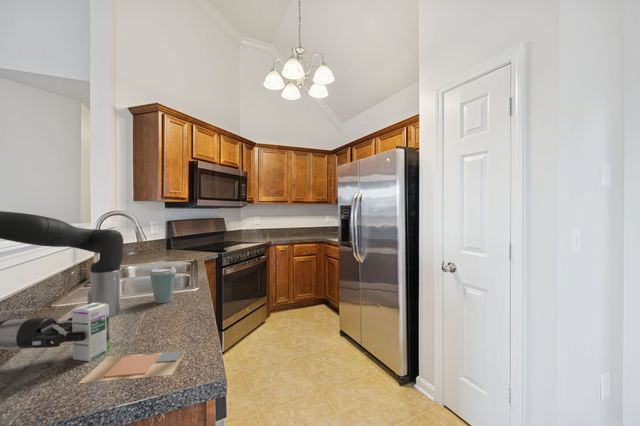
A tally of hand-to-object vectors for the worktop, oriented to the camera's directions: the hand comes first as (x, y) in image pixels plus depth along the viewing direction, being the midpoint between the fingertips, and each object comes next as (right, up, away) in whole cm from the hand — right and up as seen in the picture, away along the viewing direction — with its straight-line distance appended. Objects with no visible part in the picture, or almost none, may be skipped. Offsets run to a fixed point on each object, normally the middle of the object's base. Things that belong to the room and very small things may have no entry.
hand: (95, 329), depth 77 cm
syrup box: (-1, -8, 0) cm, 8 cm away
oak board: (+15, -8, -5) cm, 18 cm away
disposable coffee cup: (-9, -8, +49) cm, 51 cm away
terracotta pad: (+14, -7, -6) cm, 17 cm away
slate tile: (+21, -7, -1) cm, 22 cm away
